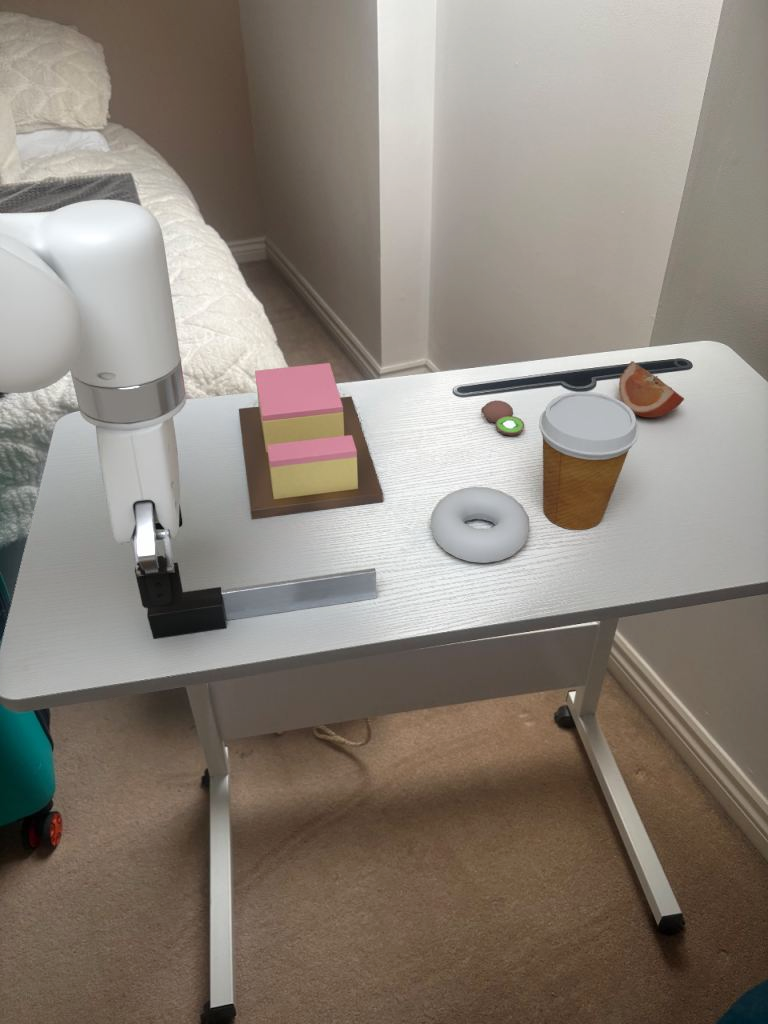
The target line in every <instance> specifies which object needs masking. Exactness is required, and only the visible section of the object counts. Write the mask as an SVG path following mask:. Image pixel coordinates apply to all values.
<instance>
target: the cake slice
mask: <svg viewBox="0 0 768 1024" xmlns="http://www.w3.org/2000/svg"><path fill="white" fill-rule="evenodd" d="M267 450H268V458H269V467H270V476H271V484H272V490H273V497H274V499H282V498H290V497H298V496H306V495H314V494H321V493H329V492H337V491H345V490H353V489H358V475H357V450H356V447H355V444H354V440H353V437H352V435H348V436H339V437H331V438H322V439H314V440H305V441H296V442H288V443H279V444H271V445H267Z"/></svg>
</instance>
